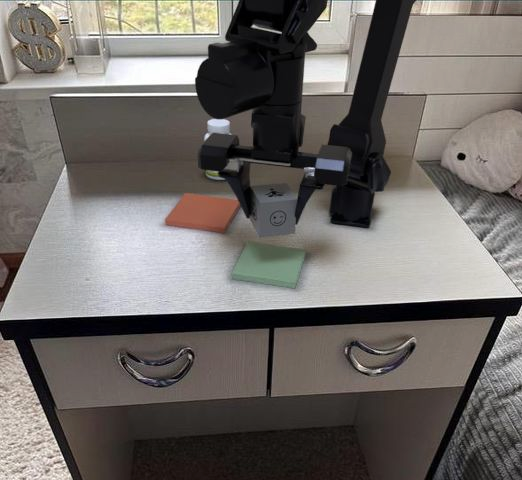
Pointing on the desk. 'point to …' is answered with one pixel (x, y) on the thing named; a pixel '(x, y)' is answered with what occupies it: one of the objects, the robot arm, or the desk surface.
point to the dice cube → (273, 210)
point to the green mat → (269, 264)
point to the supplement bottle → (216, 127)
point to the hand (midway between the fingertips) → (272, 220)
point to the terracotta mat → (203, 213)
